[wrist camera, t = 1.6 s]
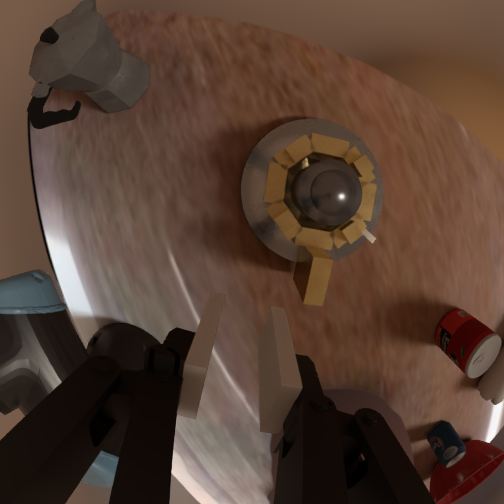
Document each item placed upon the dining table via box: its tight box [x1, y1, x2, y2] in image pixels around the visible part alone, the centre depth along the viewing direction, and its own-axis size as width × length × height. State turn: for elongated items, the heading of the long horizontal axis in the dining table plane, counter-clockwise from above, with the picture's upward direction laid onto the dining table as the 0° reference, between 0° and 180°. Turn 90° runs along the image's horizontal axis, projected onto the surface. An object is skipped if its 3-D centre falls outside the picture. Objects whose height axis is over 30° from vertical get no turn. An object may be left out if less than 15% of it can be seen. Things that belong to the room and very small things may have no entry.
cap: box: [241, 119, 383, 262], centre depth 29 cm, size 18×18×9 cm
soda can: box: [427, 421, 466, 468], centre depth 39 cm, size 7×7×12 cm
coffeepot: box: [27, 0, 150, 129], centre depth 21 cm, size 15×9×18 cm, turn 161°
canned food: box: [435, 309, 501, 378], centre depth 33 cm, size 8×8×11 cm
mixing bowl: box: [430, 440, 504, 504], centre depth 43 cm, size 28×28×15 cm
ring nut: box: [263, 133, 377, 306], centre depth 29 cm, size 12×17×8 cm
